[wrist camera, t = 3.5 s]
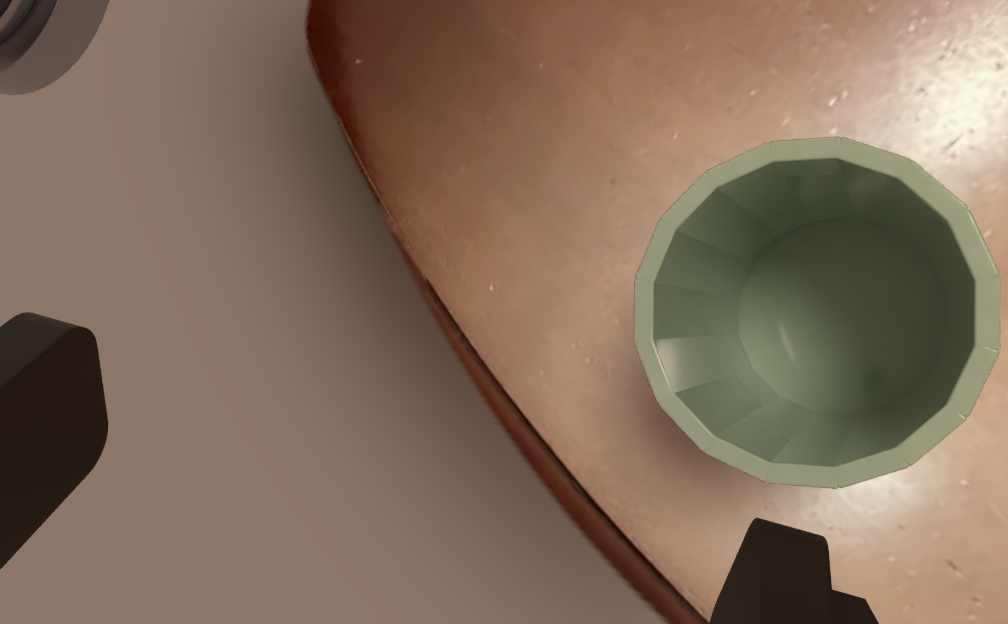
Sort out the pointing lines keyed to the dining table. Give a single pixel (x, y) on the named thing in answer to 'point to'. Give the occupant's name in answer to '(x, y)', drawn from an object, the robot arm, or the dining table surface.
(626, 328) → the dining table surface
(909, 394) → the pen cup
